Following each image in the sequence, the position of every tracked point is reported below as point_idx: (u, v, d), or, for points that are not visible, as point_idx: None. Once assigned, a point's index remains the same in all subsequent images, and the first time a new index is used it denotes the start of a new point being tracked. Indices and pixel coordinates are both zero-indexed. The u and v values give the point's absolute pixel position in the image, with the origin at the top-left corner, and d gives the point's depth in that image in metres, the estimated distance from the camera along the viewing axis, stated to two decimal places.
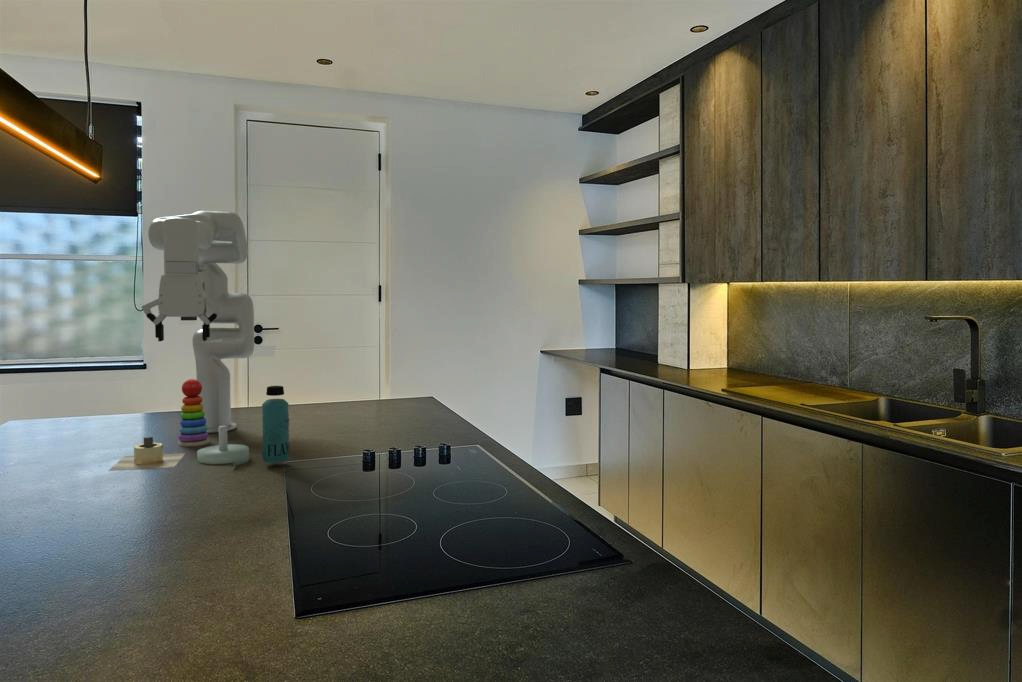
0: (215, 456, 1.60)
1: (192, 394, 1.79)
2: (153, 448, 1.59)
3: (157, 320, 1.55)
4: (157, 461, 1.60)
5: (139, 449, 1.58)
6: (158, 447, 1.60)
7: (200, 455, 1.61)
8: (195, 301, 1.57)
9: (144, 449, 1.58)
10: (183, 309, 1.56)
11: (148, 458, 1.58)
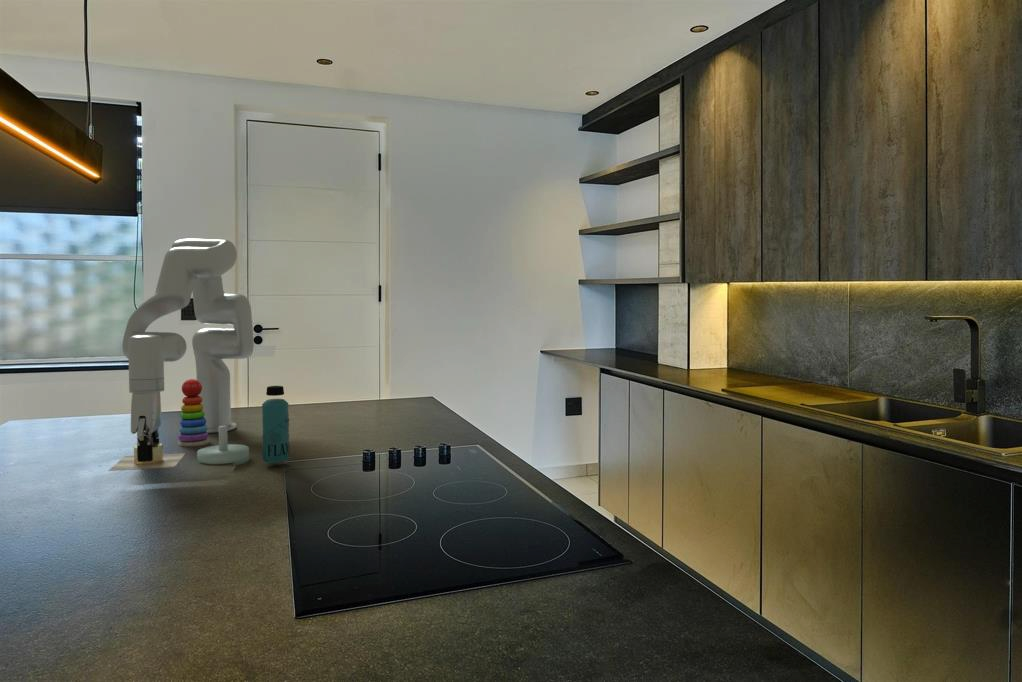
0: (215, 456, 1.60)
1: (192, 394, 1.79)
2: (153, 448, 1.59)
3: (150, 440, 1.57)
4: (157, 461, 1.60)
5: None
6: (158, 447, 1.60)
7: (200, 455, 1.61)
8: (160, 413, 1.64)
9: None
10: (158, 422, 1.62)
11: None
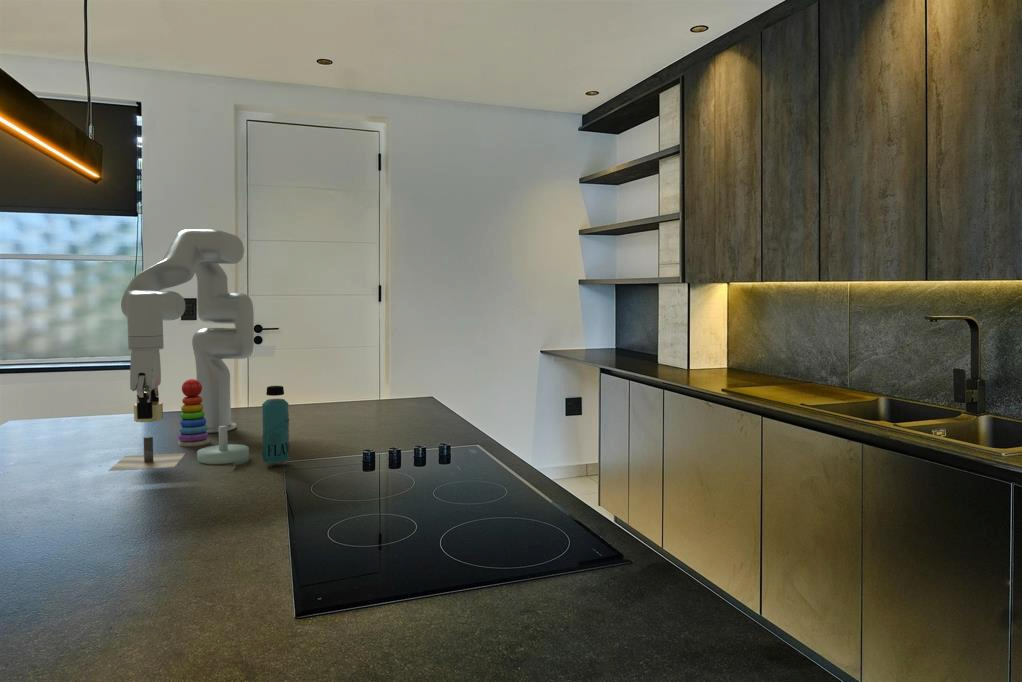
0: (215, 456, 1.60)
1: (192, 394, 1.79)
2: (153, 406, 1.59)
3: (150, 398, 1.57)
4: (157, 419, 1.60)
5: None
6: (158, 405, 1.60)
7: (200, 455, 1.61)
8: (160, 371, 1.64)
9: None
10: (158, 380, 1.61)
11: None
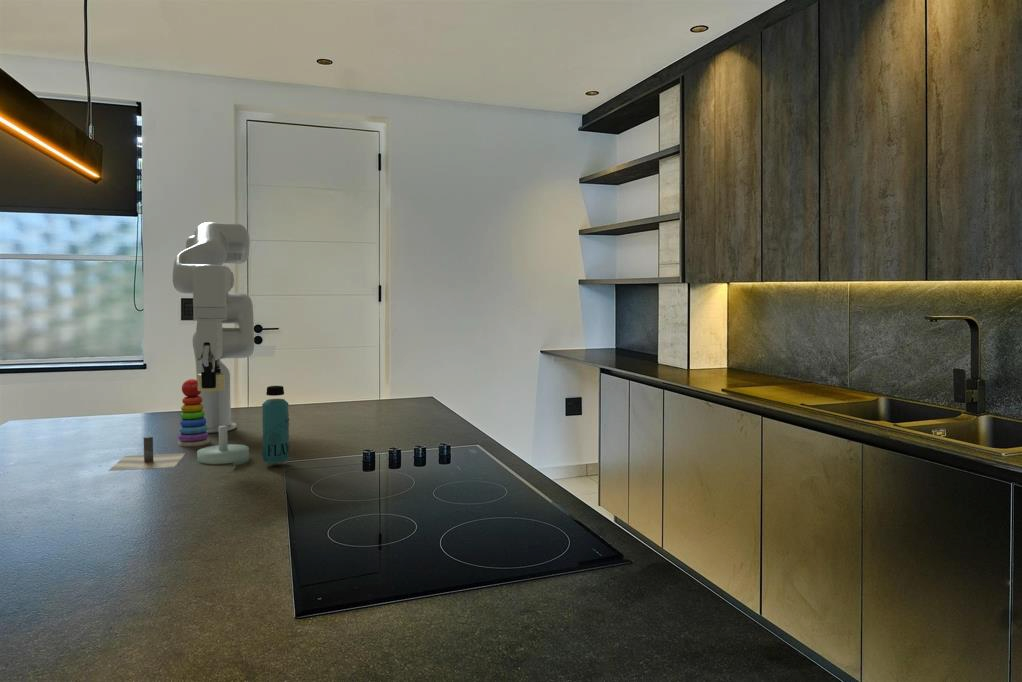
0: (215, 456, 1.60)
1: (192, 394, 1.79)
2: (216, 376, 1.62)
3: (214, 367, 1.60)
4: (220, 389, 1.63)
5: None
6: (221, 375, 1.63)
7: (200, 455, 1.61)
8: (222, 343, 1.67)
9: None
10: (220, 352, 1.64)
11: None
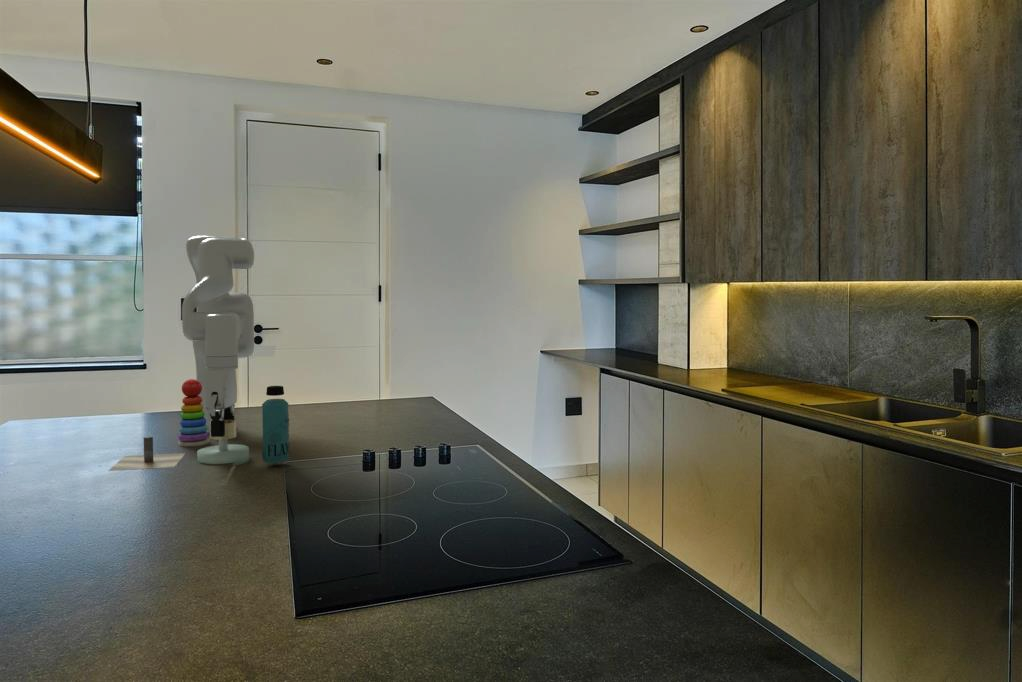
0: (215, 456, 1.60)
1: (192, 394, 1.79)
2: (226, 424, 1.63)
3: (222, 416, 1.61)
4: (229, 437, 1.64)
5: None
6: (231, 423, 1.64)
7: (200, 455, 1.61)
8: (235, 390, 1.68)
9: None
10: (232, 399, 1.66)
11: None
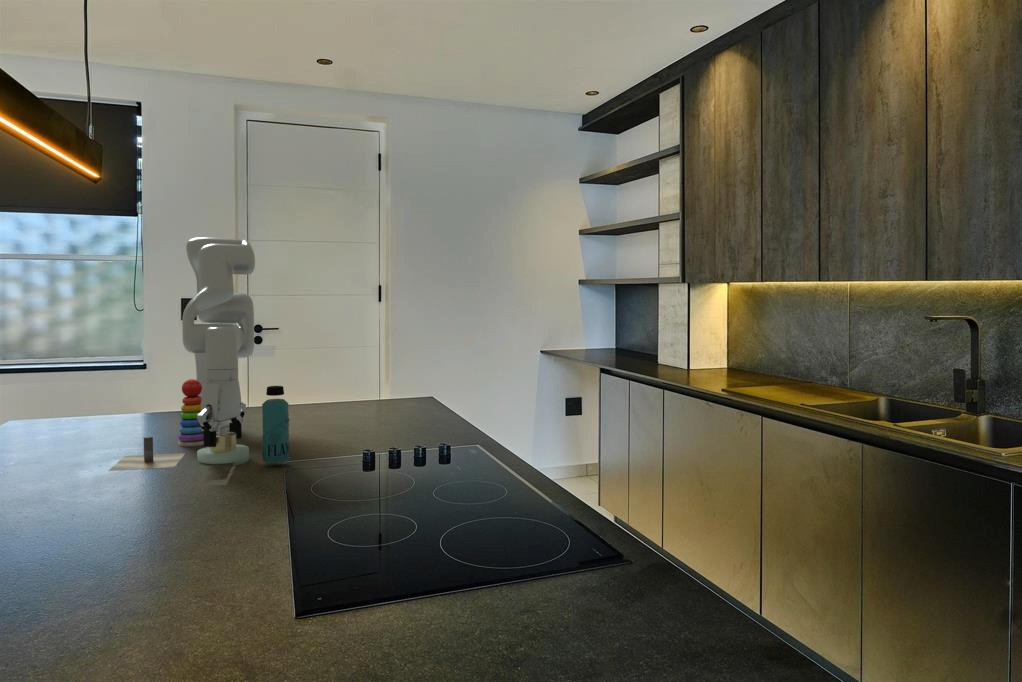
0: (215, 456, 1.60)
1: (192, 394, 1.79)
2: (222, 437, 1.63)
3: (213, 427, 1.60)
4: (226, 450, 1.63)
5: None
6: (227, 437, 1.64)
7: (200, 455, 1.61)
8: (238, 403, 1.68)
9: None
10: (231, 412, 1.65)
11: (217, 446, 1.63)
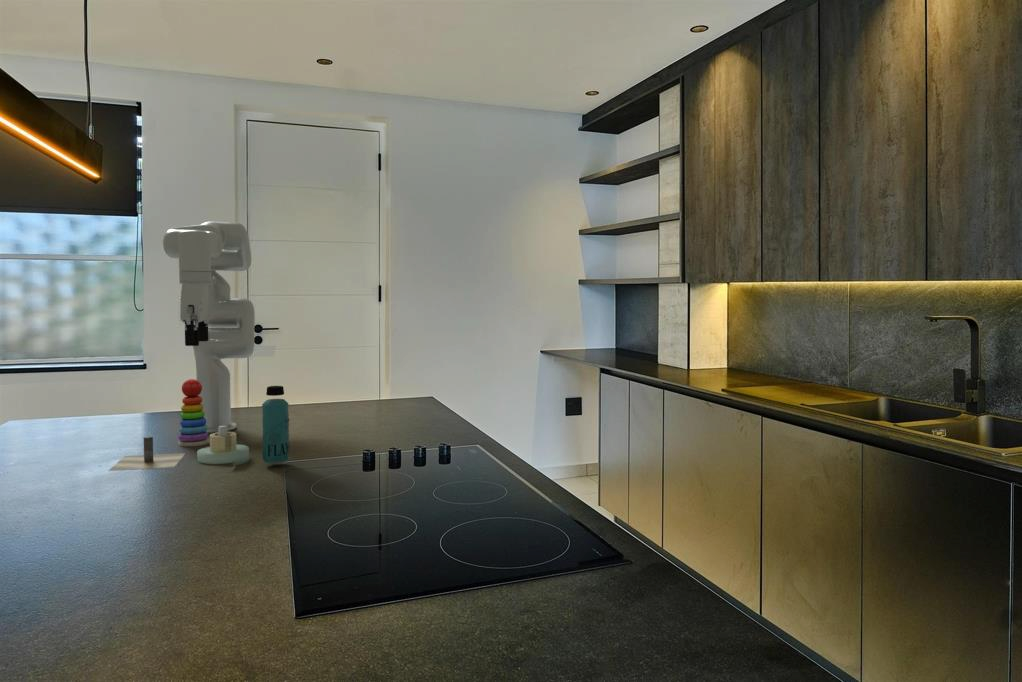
0: (215, 456, 1.60)
1: (192, 394, 1.79)
2: (222, 437, 1.63)
3: (196, 326, 1.67)
4: (226, 450, 1.63)
5: (211, 437, 1.63)
6: (227, 437, 1.64)
7: (200, 455, 1.61)
8: (208, 306, 1.75)
9: (214, 437, 1.63)
10: (206, 314, 1.72)
11: (217, 446, 1.63)
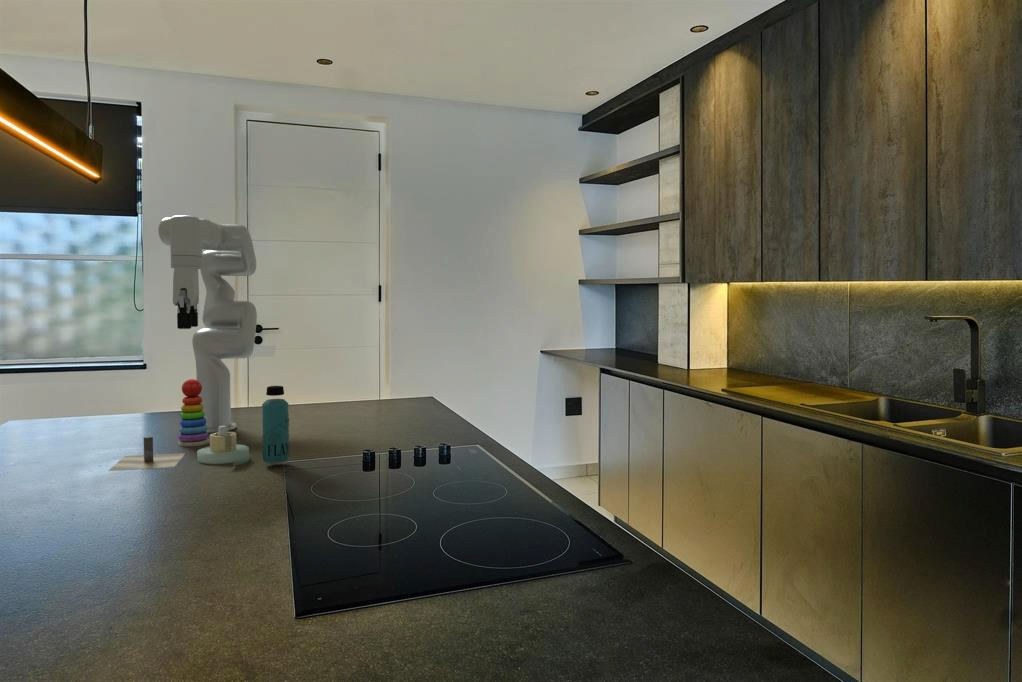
0: (215, 456, 1.60)
1: (192, 394, 1.79)
2: (222, 437, 1.63)
3: (189, 309, 1.69)
4: (226, 450, 1.63)
5: (211, 437, 1.63)
6: (227, 437, 1.64)
7: (200, 455, 1.61)
8: (198, 291, 1.77)
9: (214, 437, 1.63)
10: (196, 299, 1.75)
11: (217, 446, 1.63)
